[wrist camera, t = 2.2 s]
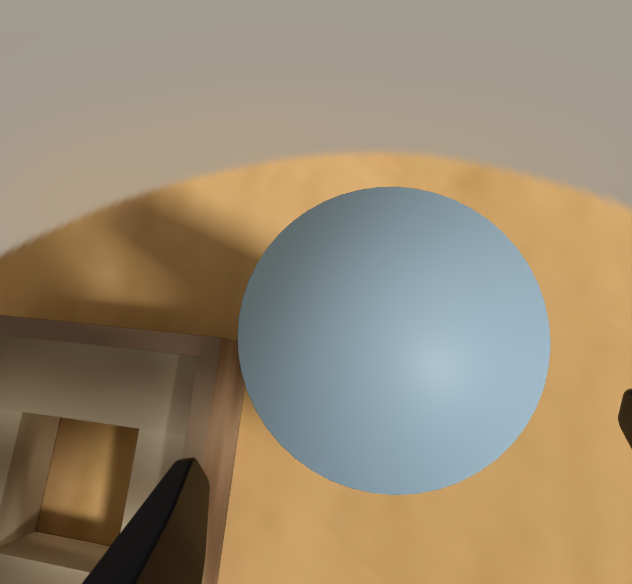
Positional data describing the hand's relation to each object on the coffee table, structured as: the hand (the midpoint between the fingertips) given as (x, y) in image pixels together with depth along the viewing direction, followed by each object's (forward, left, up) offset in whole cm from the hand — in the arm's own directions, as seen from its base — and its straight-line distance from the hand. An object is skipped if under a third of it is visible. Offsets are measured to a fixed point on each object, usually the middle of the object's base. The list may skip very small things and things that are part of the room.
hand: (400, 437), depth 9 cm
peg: (+2, +1, -10) cm, 10 cm away
